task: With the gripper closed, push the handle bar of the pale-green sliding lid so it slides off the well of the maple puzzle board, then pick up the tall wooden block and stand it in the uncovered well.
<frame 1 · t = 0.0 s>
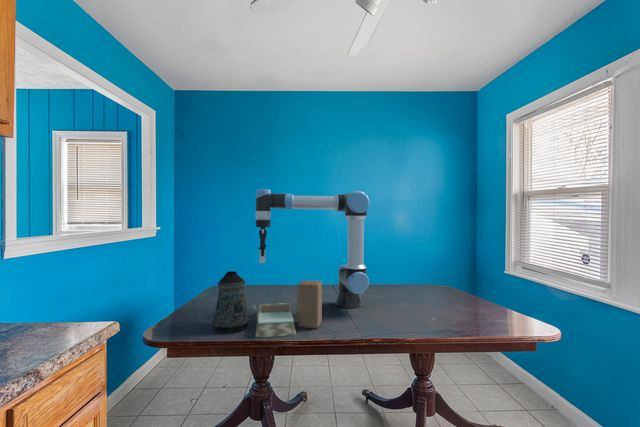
hand: (262, 260, 159), 28 cm above the table, fingers open, 13 cm apart
wooden block: (309, 325, 146), on the table
lid: (275, 313, 139), point 7 cm above the table, slide at 0.0 cm
beer stein: (228, 327, 143), on the table
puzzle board: (275, 323, 147), on the table
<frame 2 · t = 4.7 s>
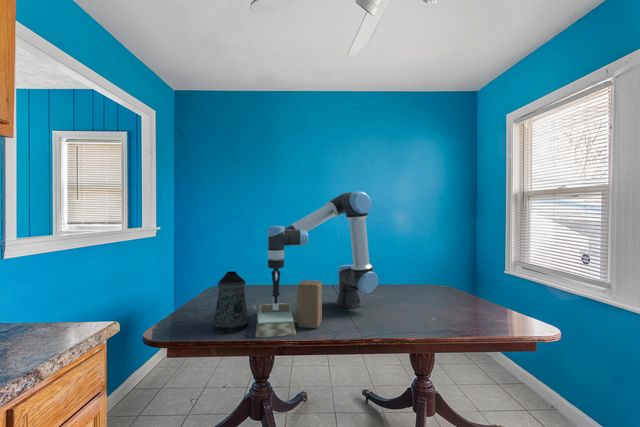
hand: (275, 309, 145), 7 cm above the table, fingers closed
lid: (275, 313, 140), point 7 cm above the table, slide at 0.3 cm, touching gripper
everything else where it was.
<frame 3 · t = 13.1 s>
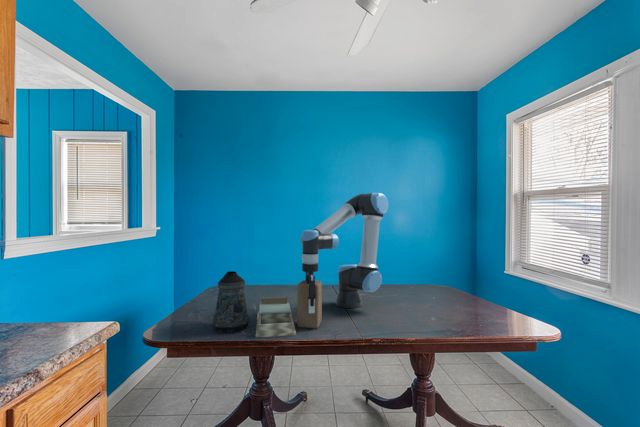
hand: (309, 308, 146), 7 cm above the table, fingers closed on wooden block, 12 cm apart
wooden block: (309, 325, 146), on the table, touching gripper
lid: (274, 304, 153), point 7 cm above the table, slide at 13.9 cm
everything else where it was.
when the fingers open (10 cm above the table, at t = 19.6 s): wooden block drops 1 cm, resting on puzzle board.
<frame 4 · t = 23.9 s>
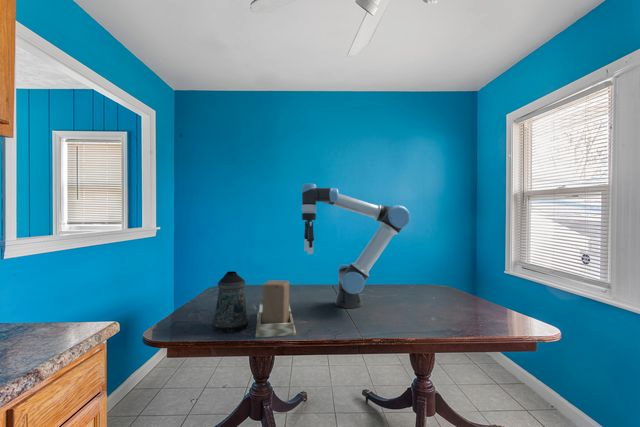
hand: (308, 252, 167), 32 cm above the table, fingers open, 13 cm apart
wooden block: (275, 327, 140), point 1 cm above the table, touching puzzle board
everything else where it was.
at the end: lid slide at 13.9 cm; wooden block 0.1 cm from the target spot on the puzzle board, point 1.0 cm above the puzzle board's base; wooden block tilted 0° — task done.
